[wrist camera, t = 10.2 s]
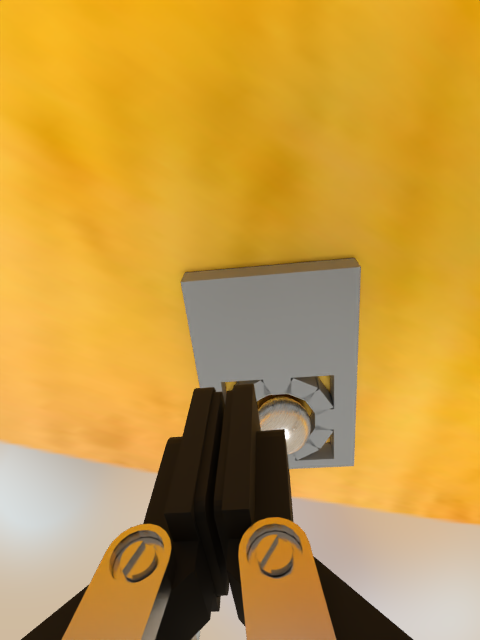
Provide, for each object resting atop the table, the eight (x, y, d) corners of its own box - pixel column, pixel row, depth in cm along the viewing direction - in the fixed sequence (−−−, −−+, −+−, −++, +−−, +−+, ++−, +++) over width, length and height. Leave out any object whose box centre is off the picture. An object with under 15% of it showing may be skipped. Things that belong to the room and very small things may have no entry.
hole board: (354, 257, 37) (360, 266, 35) (349, 449, 48) (353, 465, 45) (185, 272, 38) (180, 282, 36) (217, 455, 49) (215, 472, 47)
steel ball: (278, 444, 46) (241, 413, 45) (314, 409, 46) (277, 377, 44) (286, 477, 41) (244, 443, 39) (329, 438, 40) (287, 401, 38)
